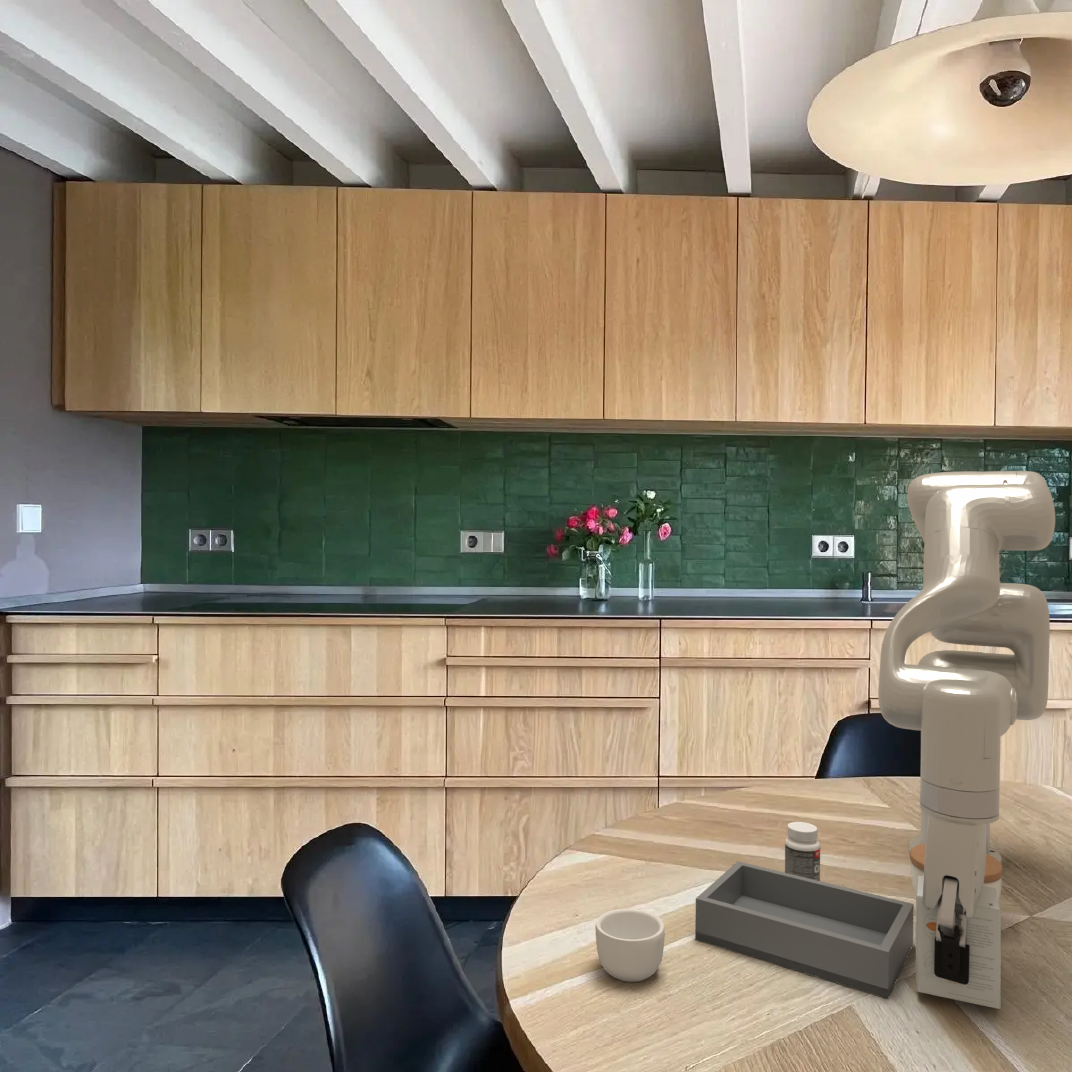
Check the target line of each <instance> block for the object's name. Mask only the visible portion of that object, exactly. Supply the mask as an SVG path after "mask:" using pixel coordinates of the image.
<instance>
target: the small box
mask: <svg viewBox="0 0 1072 1072" xmlns="http://www.w3.org/2000/svg"><path fill="white" fill-rule="evenodd" d="M923 883H924V877H923V876H917V886H916V894H915V987H916V988H915V989H916V992H918V993H922V994H927V995H931V996H936V997H940V998H946V999H950V1000H955V1001H960V1002H964V1003H968V1004H969V1003H970V1004H973V1005H979V1006H984V1007H988V1008H993V1009H1001V1005H1002V1004H1001V1003H1002V1002H1001V1000H1002V999H1001V998H1002V997H1001V994H1002V993H1001V980H1002V979H1001V976H1002V975H1001V973H1002V972H1001V971H1002V969H1001V968H1002V967H1001V965H1002V964H1001V961H1002V960H1001V953H1002V951H1001V949H1002V948H1001V947H1002V946H1001V945H1002V944H1001V943H1002V912H1001V910H1002V909H1001V905H1000V903H999V902H1000V900H999V901H998V897H997V892H996V888H993V887H986V886H983V889H982V893H981V896H980V899H979V902H978V904H977V908H976V913H975V916H974V917H973V918H971V919H968V927H967V943H966V944H967V945H970V956H969V982H968V984H967V985H964V984H960V983H957V982H953V981H950V980H947V979H943V978H940V977H937V976H936V975H935V974H934V949H935V936H936V926H937V910H938V902H937V904H936V906H935V908H934V909H929V910H927V909H925V908H924V906H923V904H922V900H923ZM958 892H959V889H958ZM956 912H957V913H961V914H963V908H961V907H957V906H956ZM955 925H956V926H959V930H960V927H961V920H959V919H955Z"/></svg>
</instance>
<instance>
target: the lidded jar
mask: <svg viewBox="0 0 1072 1072" xmlns="http://www.w3.org/2000/svg"><path fill="white" fill-rule="evenodd" d="M925 846H926V844H920V845H917V846H915V847H913V848H912V849H911V850H910V849H909V859H910V860H909V861H910V877H911V884H912V887H913V892H914V894H915V895H916V886H917V876H923V877H924V864H925ZM1003 867H1004V866H1003V865H1002V862H1001V863H1000V862H999V861H998V860H997V859H995V858H994V857H992V856H990V855H988V854H986V863H985V876H984V884H983V886H986V887H993V888H996V892H997V897H998V901H999V902H1000V899H1001V893H1002V878H1003V875H1004V874H1003V871H1004V869H1003Z"/></svg>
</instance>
